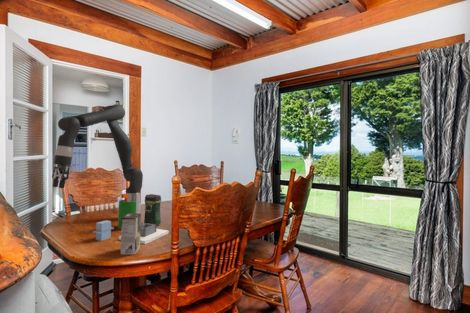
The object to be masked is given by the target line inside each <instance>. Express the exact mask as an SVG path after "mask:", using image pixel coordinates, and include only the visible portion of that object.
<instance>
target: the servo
mask: <svg viewBox="0 0 470 313" xmlns="http://www.w3.org/2000/svg"><path fill="white" fill-rule="evenodd" d="M95 224H96V225H95V229H96V230H94V231H92V234H95V241H106V240H108V239H110V238H111V235H112V230H114V229H115V227H112V220H102V221H98V222H96V223H95Z"/></svg>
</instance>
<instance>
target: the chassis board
mask: <svg viewBox="0 0 470 313" xmlns="http://www.w3.org/2000/svg"><path fill="white" fill-rule="evenodd" d="M167 235H169V230H167V229H162V228H161V229H160V228H157V226H156V224H148V223H144V222H143V223H141V234H140V245H141V244H142V245H146V244H148V243H151V242H154V241H156V240H158V239H161V237H163V236H167ZM118 240H119V241H121V235H120V236H118Z"/></svg>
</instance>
